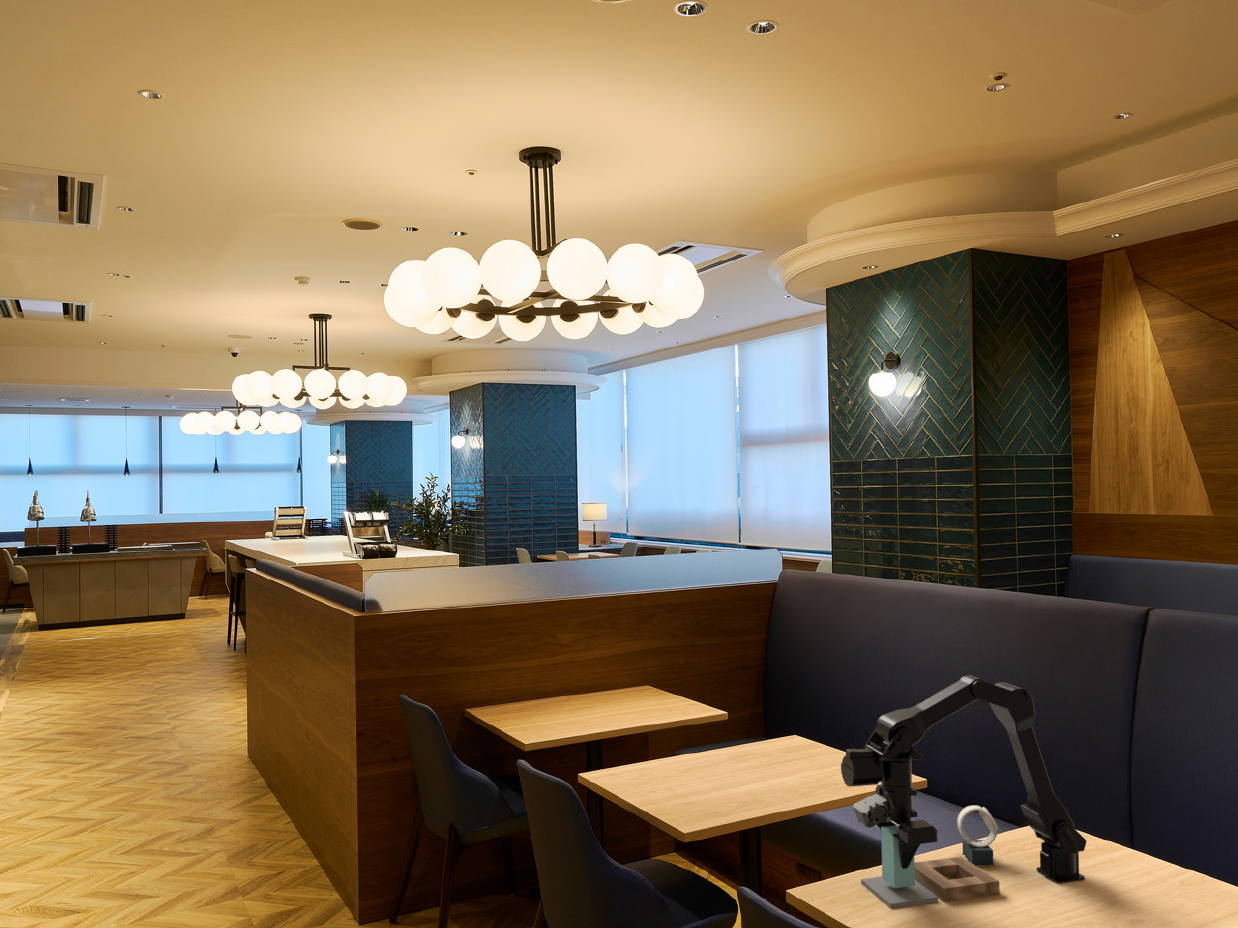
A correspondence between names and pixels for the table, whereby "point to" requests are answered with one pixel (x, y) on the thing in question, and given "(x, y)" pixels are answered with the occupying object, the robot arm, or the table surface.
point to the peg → (894, 861)
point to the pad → (899, 893)
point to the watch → (978, 849)
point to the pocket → (967, 886)
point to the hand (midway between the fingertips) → (898, 863)
